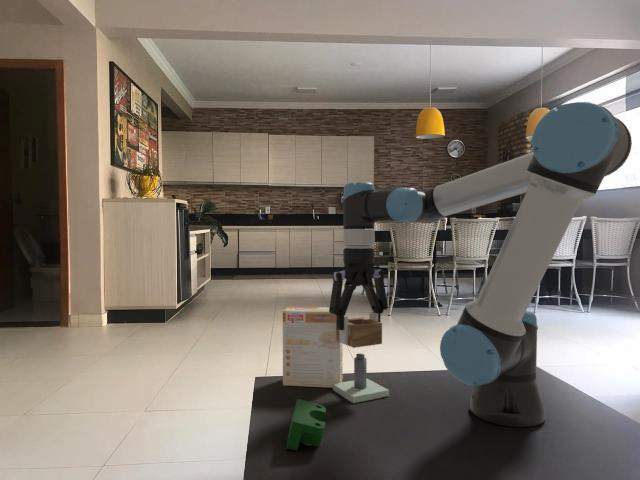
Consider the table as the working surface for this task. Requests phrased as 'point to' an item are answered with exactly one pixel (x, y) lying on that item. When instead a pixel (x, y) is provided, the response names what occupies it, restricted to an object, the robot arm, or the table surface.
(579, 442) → the table surface
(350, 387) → the sage green base plate
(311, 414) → the clamp
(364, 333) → the collar
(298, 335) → the coffeecake box
